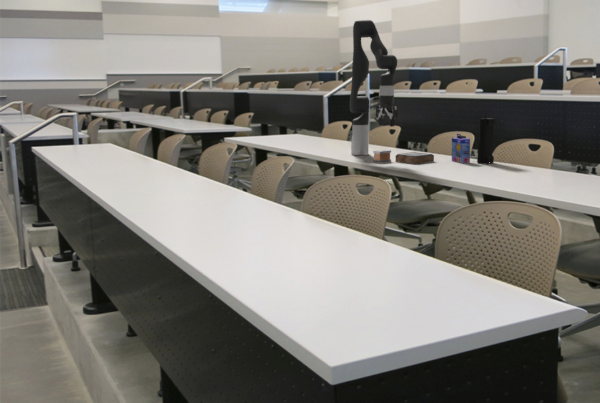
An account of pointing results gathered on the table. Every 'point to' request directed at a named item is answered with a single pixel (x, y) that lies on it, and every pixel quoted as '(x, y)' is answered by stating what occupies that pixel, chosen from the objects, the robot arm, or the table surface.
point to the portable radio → (485, 140)
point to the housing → (382, 156)
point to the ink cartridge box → (461, 149)
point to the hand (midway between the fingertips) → (386, 125)
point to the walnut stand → (414, 157)
